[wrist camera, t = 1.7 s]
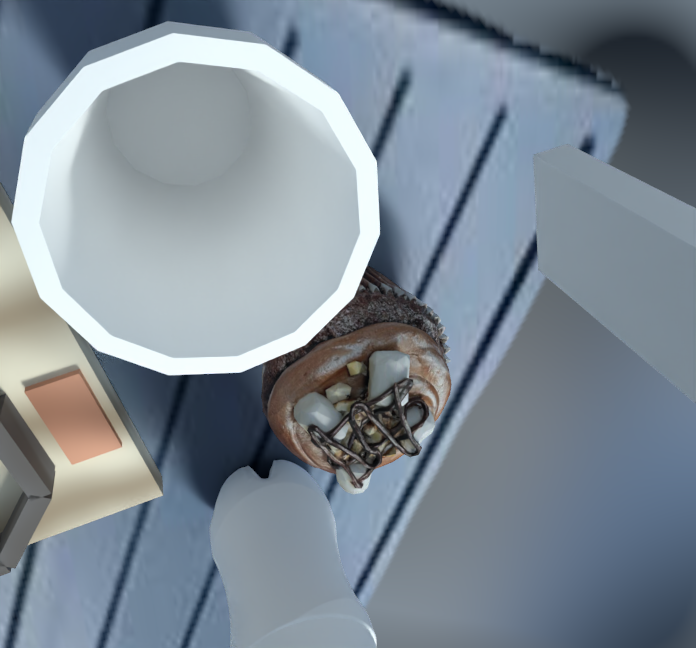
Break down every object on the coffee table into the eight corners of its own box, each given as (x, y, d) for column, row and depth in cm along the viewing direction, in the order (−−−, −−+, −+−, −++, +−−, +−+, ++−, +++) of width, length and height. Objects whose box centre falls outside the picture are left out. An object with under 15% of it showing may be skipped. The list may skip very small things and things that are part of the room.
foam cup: (191, 255, 31) (223, 424, 20) (11, 120, 26) (-71, 252, 15) (329, 108, 29) (444, 208, 19) (165, -67, 24) (193, -66, 14)
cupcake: (320, 423, 39) (372, 555, 30) (208, 328, 33) (233, 458, 25) (445, 323, 37) (534, 433, 29) (349, 208, 32) (425, 302, 24)
